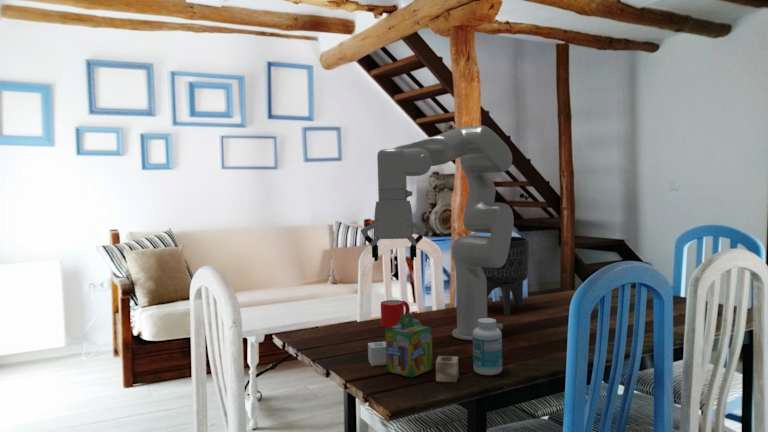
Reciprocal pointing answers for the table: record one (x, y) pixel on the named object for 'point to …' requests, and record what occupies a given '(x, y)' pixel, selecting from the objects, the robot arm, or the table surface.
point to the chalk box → (408, 348)
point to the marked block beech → (447, 369)
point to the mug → (392, 312)
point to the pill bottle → (487, 347)
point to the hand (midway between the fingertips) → (394, 260)
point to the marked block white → (377, 353)
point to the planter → (510, 273)
